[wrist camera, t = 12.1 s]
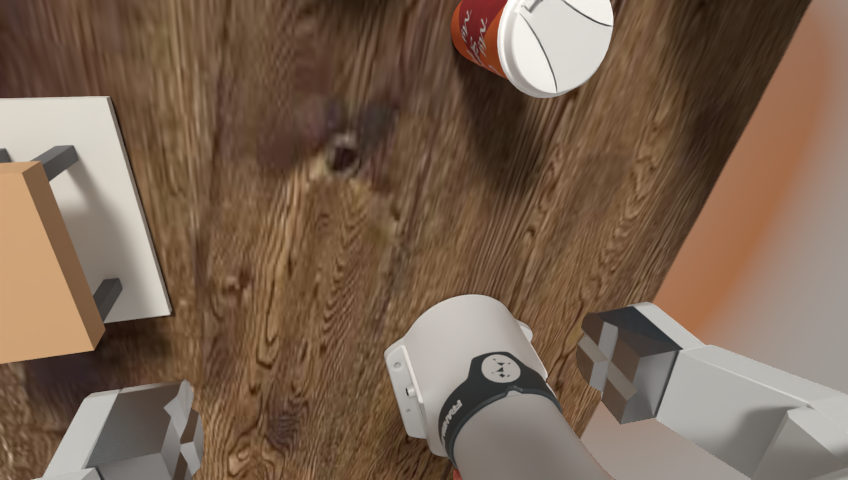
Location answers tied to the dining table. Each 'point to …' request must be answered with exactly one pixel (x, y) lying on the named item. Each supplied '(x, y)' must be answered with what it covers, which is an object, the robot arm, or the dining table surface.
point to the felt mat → (92, 195)
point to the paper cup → (535, 40)
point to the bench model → (43, 267)
